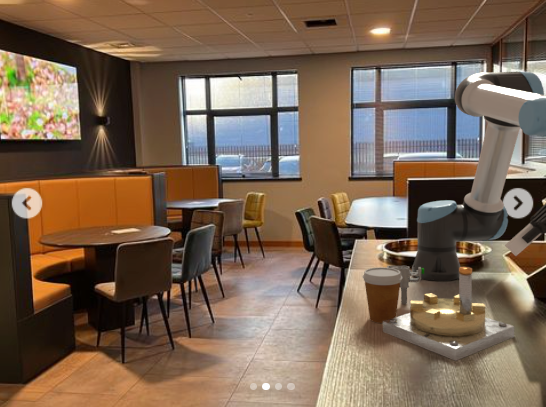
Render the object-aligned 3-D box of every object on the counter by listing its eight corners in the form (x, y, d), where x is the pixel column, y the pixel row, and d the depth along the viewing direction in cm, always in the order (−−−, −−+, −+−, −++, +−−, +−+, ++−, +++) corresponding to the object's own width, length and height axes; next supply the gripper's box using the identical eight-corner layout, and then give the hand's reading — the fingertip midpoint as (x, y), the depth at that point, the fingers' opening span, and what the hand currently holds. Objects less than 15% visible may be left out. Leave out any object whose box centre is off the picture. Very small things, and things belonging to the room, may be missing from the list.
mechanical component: (424, 305, 138) (424, 268, 137) (384, 304, 140) (384, 268, 139) (423, 302, 141) (423, 265, 140) (384, 301, 143) (384, 265, 142)
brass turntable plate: (441, 306, 129) (441, 250, 127) (500, 324, 115) (501, 262, 114) (395, 320, 120) (395, 260, 118) (453, 341, 107) (454, 275, 105)
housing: (439, 313, 132) (440, 302, 131) (514, 336, 115) (514, 324, 115) (382, 331, 121) (382, 319, 121) (455, 360, 104) (455, 346, 104)
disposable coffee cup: (379, 328, 123) (379, 279, 121) (355, 317, 131) (354, 270, 130) (410, 321, 127) (410, 273, 126) (385, 310, 136) (385, 265, 134)
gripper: (580, 152, 107) (491, 232, 113) (603, 154, 94) (501, 244, 101) (608, 177, 106) (517, 256, 112) (635, 183, 94) (531, 271, 100)
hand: (510, 250), depth 106 cm, fingers closed
